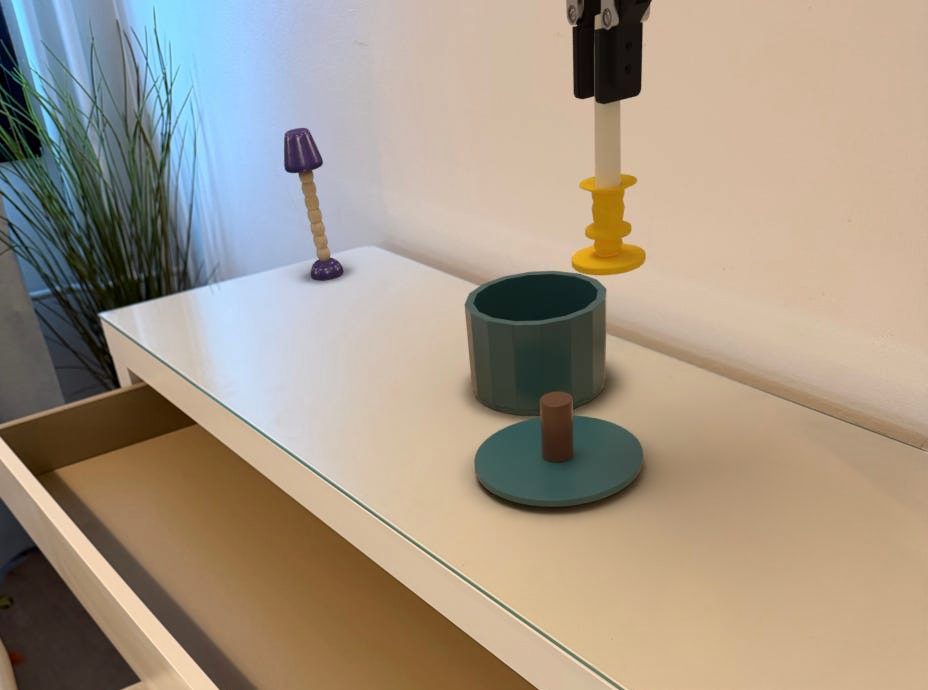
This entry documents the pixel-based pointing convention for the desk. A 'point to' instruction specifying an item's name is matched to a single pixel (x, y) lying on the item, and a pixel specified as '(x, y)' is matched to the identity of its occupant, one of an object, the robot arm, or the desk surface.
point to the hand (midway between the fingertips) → (607, 95)
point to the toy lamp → (310, 196)
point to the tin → (536, 339)
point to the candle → (607, 199)
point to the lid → (558, 457)
